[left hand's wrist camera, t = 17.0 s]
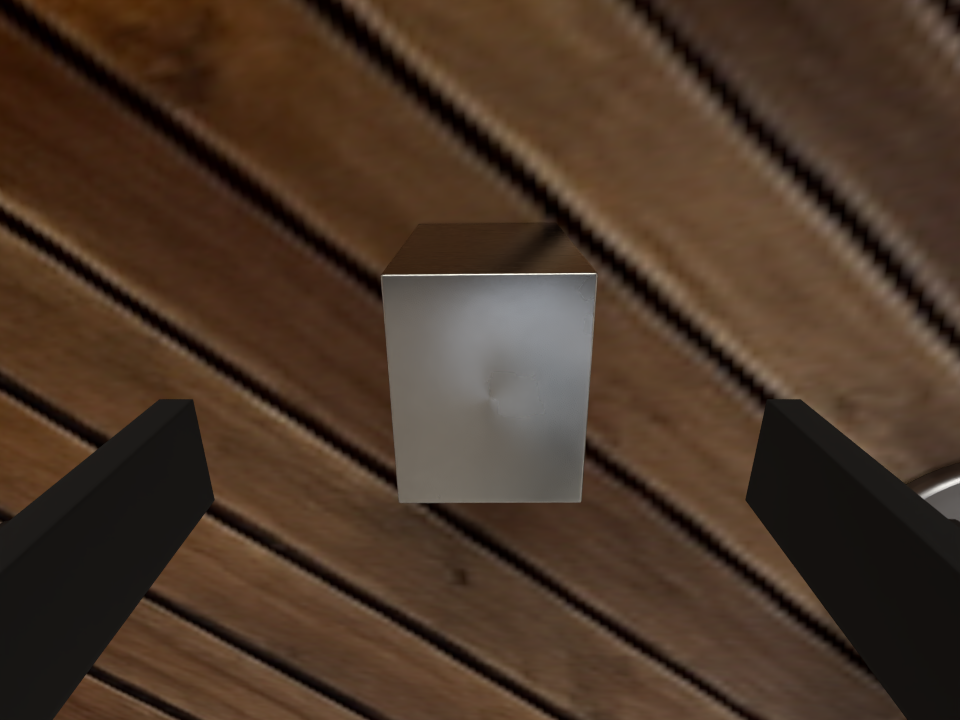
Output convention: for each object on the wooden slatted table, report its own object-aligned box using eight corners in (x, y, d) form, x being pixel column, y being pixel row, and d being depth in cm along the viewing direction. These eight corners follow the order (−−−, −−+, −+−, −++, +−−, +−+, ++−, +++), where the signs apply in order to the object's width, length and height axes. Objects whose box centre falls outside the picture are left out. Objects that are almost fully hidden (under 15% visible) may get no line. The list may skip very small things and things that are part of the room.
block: (418, 223, 26) (380, 274, 16) (556, 222, 26) (598, 272, 16) (426, 383, 29) (398, 503, 20) (549, 383, 29) (581, 503, 19)
